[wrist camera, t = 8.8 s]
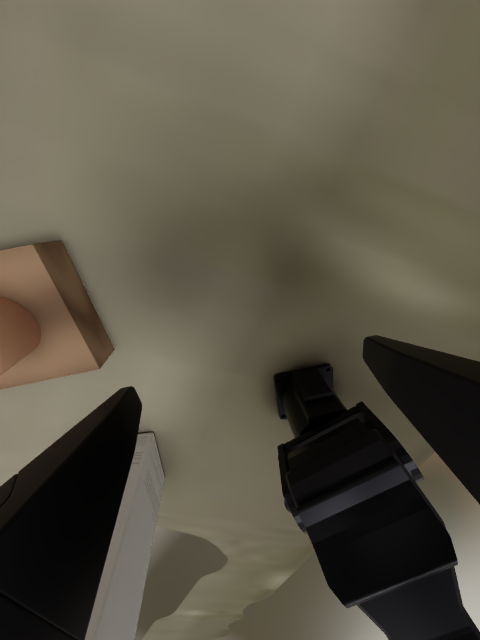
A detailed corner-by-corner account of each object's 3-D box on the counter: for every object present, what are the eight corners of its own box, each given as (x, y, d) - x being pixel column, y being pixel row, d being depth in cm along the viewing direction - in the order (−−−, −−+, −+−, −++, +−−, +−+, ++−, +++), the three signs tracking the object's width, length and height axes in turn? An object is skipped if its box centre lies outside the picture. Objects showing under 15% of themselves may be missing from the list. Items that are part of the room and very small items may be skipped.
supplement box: (72, 438, 25) (-93, 694, 12) (154, 429, 26) (90, 659, 12) (94, 486, 29) (-11, 724, 15) (166, 478, 30) (126, 696, 16)
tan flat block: (114, 349, 21) (99, 368, 19) (8, 371, 21) (-23, 394, 18) (61, 240, 17) (32, 244, 14) (-73, 265, 17) (-128, 274, 14)
